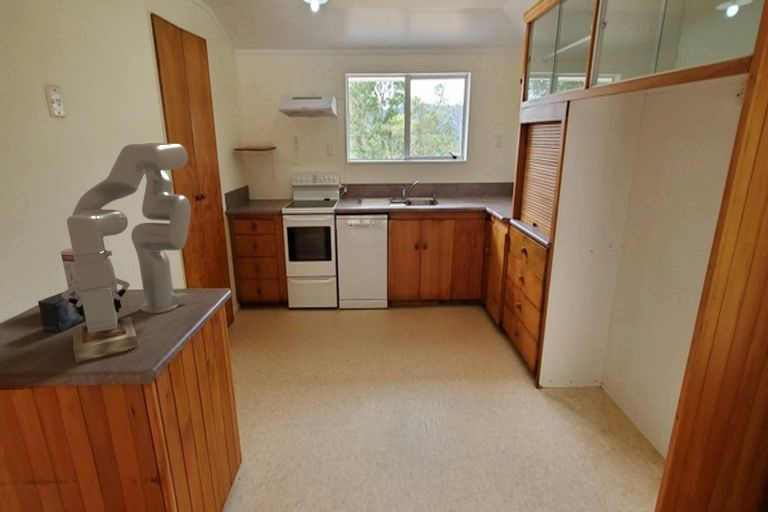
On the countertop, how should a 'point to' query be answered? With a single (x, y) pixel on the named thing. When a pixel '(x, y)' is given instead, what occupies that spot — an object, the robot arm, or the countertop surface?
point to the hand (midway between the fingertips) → (101, 313)
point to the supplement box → (99, 309)
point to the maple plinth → (104, 340)
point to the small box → (59, 313)
